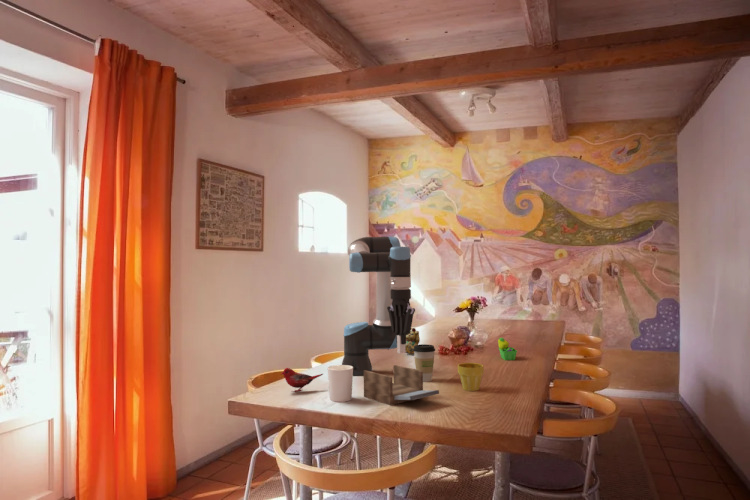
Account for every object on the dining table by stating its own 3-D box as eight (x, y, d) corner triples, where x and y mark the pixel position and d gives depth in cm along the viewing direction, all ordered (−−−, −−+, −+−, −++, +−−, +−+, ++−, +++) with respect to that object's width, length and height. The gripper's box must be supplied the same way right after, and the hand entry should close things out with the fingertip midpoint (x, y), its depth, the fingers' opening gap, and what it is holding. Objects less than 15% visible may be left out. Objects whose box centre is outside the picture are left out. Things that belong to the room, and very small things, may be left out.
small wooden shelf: (363, 396, 200) (363, 370, 200) (396, 389, 210) (395, 365, 210) (390, 405, 187) (389, 377, 187) (423, 397, 197) (422, 371, 197)
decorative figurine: (402, 355, 287) (402, 328, 288) (404, 352, 295) (404, 326, 296) (420, 355, 286) (419, 328, 286) (421, 353, 294) (420, 326, 294)
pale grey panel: (393, 396, 188) (412, 396, 180) (420, 390, 196) (438, 390, 188) (394, 399, 188) (412, 399, 180) (420, 393, 196) (439, 393, 188)
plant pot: (468, 393, 202) (468, 368, 203) (452, 388, 212) (452, 364, 212) (489, 390, 207) (488, 365, 207) (473, 385, 216) (472, 361, 217)
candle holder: (327, 396, 201) (327, 365, 201) (353, 395, 202) (352, 364, 202) (327, 402, 191) (327, 370, 191) (354, 402, 192) (353, 369, 192)
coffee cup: (434, 383, 221) (434, 348, 221) (412, 382, 223) (411, 347, 223) (436, 378, 230) (436, 344, 231) (414, 377, 232) (414, 343, 233)
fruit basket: (517, 360, 269) (517, 339, 269) (500, 360, 269) (500, 339, 269) (512, 356, 280) (512, 335, 281) (496, 356, 281) (495, 336, 281)
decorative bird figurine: (280, 392, 207) (280, 367, 207) (322, 388, 214) (322, 364, 214) (281, 394, 204) (281, 369, 204) (324, 389, 211) (324, 365, 211)
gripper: (381, 288, 192) (382, 351, 192) (405, 289, 182) (406, 356, 182) (396, 287, 197) (397, 349, 196) (420, 288, 187) (421, 354, 186)
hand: (401, 352), depth 189 cm, fingers closed
